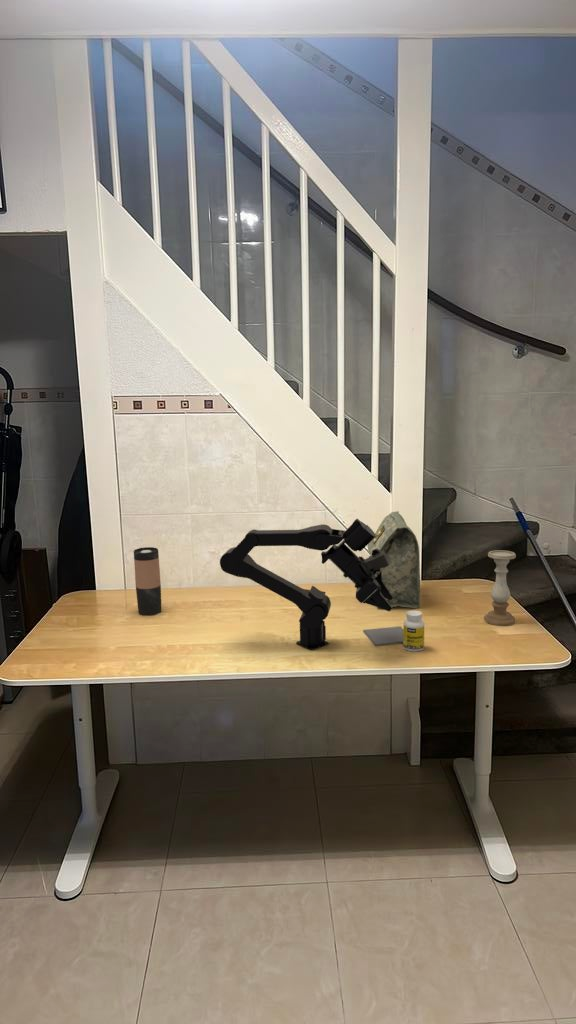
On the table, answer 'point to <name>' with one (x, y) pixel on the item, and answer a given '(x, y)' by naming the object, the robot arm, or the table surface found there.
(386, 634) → the mat
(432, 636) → the table surface
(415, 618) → the supplement bottle
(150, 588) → the travel mug
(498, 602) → the candle holder
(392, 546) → the bag
